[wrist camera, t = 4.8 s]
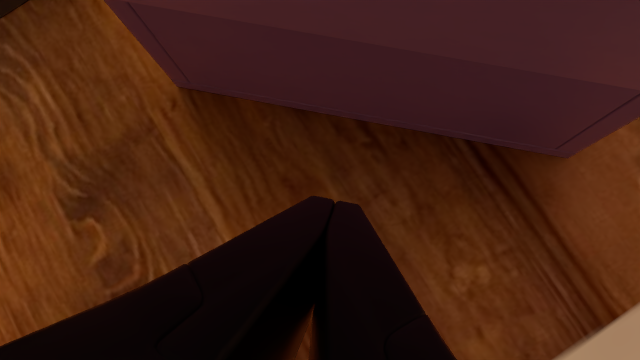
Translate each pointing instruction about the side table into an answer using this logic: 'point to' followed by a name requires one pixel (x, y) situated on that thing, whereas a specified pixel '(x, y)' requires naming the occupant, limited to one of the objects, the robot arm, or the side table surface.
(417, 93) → the file holder
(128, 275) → the side table surface
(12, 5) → the desk stand
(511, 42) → the lid
